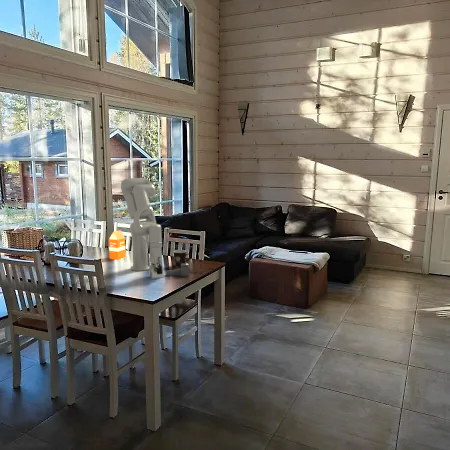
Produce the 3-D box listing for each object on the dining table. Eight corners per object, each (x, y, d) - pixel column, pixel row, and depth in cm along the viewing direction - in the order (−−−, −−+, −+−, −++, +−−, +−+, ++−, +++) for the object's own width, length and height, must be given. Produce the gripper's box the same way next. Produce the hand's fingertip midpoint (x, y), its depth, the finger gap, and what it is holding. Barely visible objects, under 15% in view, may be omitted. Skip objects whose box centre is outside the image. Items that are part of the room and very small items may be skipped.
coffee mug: (171, 265, 276) (170, 251, 274) (180, 263, 282) (180, 249, 280) (182, 268, 268) (182, 254, 266) (192, 266, 274) (192, 251, 273)
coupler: (166, 273, 257) (166, 262, 256) (189, 273, 258) (188, 262, 257) (166, 276, 250) (165, 265, 249) (189, 276, 251) (188, 265, 250)
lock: (149, 276, 251) (148, 264, 250) (160, 274, 254) (159, 262, 253) (152, 279, 246) (152, 266, 245) (163, 277, 249) (163, 264, 248)
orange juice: (109, 258, 295) (108, 231, 292) (117, 256, 303) (116, 229, 300) (118, 259, 292) (117, 232, 289) (125, 257, 300) (124, 230, 297)
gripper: (145, 243, 252) (146, 270, 255) (154, 247, 237) (156, 276, 240) (156, 242, 256) (157, 268, 258) (166, 246, 241) (167, 274, 243)
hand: (156, 272), depth 249 cm, fingers open, 9 cm apart
